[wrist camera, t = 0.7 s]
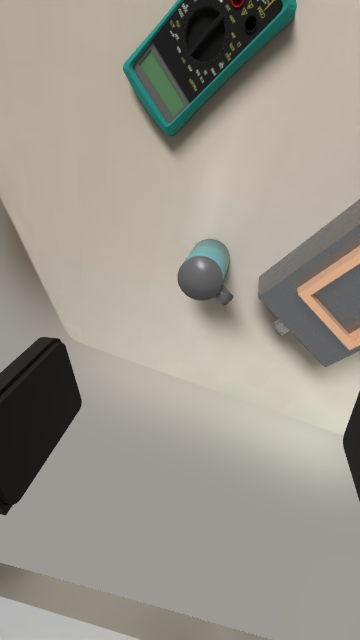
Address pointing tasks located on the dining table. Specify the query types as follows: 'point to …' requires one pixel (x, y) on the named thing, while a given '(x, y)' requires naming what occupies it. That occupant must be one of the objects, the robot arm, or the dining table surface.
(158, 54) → the digital multimeter
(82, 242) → the dining table surface
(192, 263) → the cylinder
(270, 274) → the grey box
